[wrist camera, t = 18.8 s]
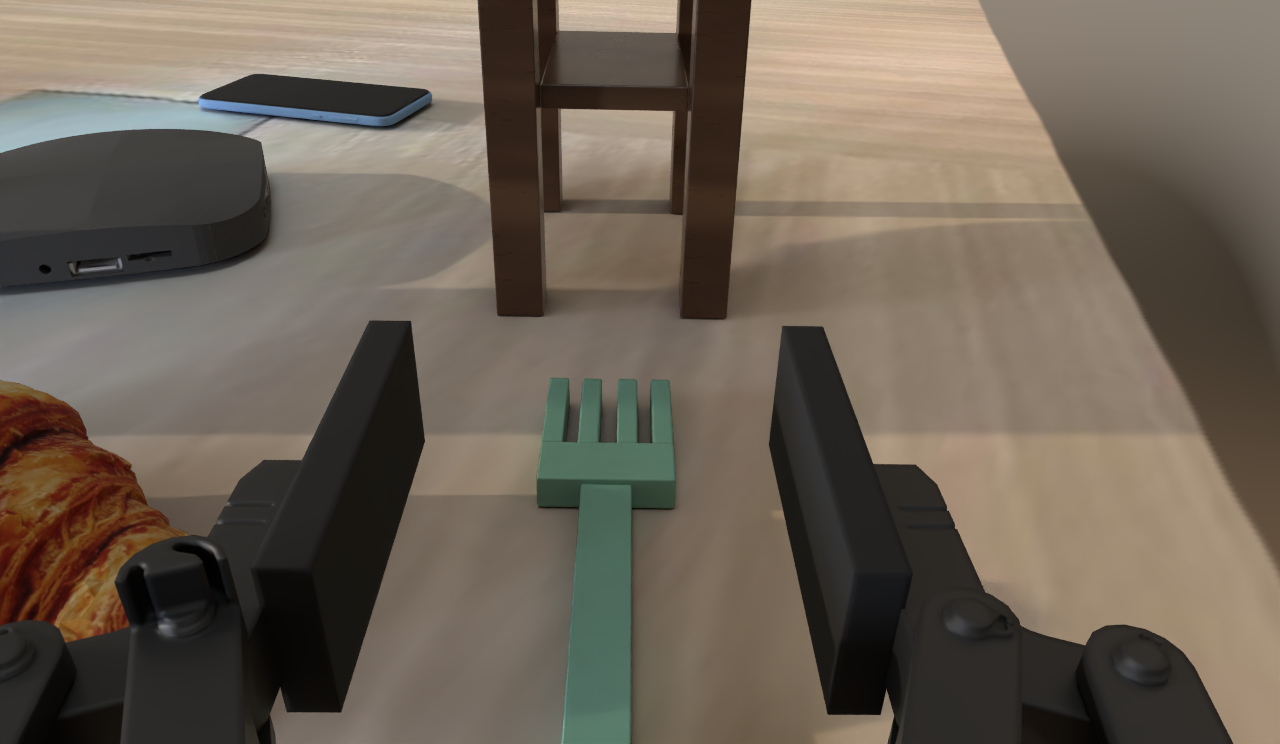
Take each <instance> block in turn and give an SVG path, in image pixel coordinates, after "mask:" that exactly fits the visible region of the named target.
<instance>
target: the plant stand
mask: <svg viewBox="0 0 1280 744" xmlns="http://www.w3.org/2000/svg"><path fill="white" fill-rule="evenodd" d="M750 11H751V0H678V3H677V28H676V33H639V32H593V31H559V6H558V0H478V13H479V29H480V45H481V61H482V77H483V93H484V109H485V125H486V141H487V157H488V173H489V189H490V204H491V220H492V236H493V252H494V268H495V284H496V300H497V314H498V315H519V316H543V314H544V308H545V302H546V296H547V292H546V261H545V230H544V211H554V212H560V210H561V204H562V198H563V197H562V149H561V109H602V110H652V111H673V126H672V150H671V174H670V199H669V200H670V211H671V214H683V223H682V243H681V264H680V284H679V303H680V314H681V317H682V318H726V314H727V302H728V289H729V276H730V264H731V251H732V239H733V226H734V213H735V201H736V188H737V175H738V163H739V150H740V138H741V125H742V112H743V100H744V87H745V74H746V62H747V49H748V36H749V24H750Z"/></svg>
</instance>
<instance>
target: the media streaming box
mask: <svg viewBox="0 0 1280 744" xmlns="http://www.w3.org/2000/svg"><path fill="white" fill-rule="evenodd" d="M269 220H270V189H269V182H268V177H267V171H266V166H265V161H264V155H263V150H262V145H261V142H259V141H257V140H255V139H251V138H248V137H243V136H239V135H233V134H227V133H220V132H213V131H202V130H184V129H143V130H124V131H112V132H101V133H93V134H85V135H78V136H72V137H66V138H60V139H55V140H50V141H45V142H40V143H36V144H32V145H29V146H25V147H21V148H17V149H14V150H10V151H6V152H3V153H0V286H12V285H24V284H35V283H46V282H57V281H67V280H77V279H87V278H96V277H106V276H115V275H124V274H133V273H142V272H150V271H158V270H167V269H175V268H183V267H190V266H198V265H204V264H209V263H213V262H217V261H221V260H225V259H228V258H231V257H233V256H236V255H239V254H241V253H243V252H246V251H247V250H249V249H251V248H253V247H255V246H256V245H258V244H259V243H260V242H261V241H263V239H264V238H265V237H266V236H267V234H268V228H269Z"/></svg>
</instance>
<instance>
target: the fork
mask: <svg viewBox="0 0 1280 744" xmlns="http://www.w3.org/2000/svg"><path fill="white" fill-rule="evenodd" d="M569 406H570V397H569V378H551V379H550V384H549V391H548V398H547V405H546V413H545V420H544V427H543V434H542V443H541V449H540V456H539V463H538V470H537V478H536V480H537V504H538V506H540V507H579V517H578V530H577V544H576V557H575V571H574V584H573V598H572V611H571V625H570V638H569V652H568V665H567V679H566V692H565V706H564V719H563V733H562V744H631V535H632V508H674V506H675V489H676V472H675V457H674V441H673V425H672V409H671V394H670V382H669V380H652V381H651V390H650V423H651V443H638V419H637V380H636V379H619V380H618V409H617V443H604V442H600V430H601V410H602V380H601V379H583V384H582V396H581V408H580V420H579V432H578V442H566V435H567V425H568V415H569Z"/></svg>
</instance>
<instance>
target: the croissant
mask: <svg viewBox="0 0 1280 744" xmlns="http://www.w3.org/2000/svg"><path fill="white" fill-rule="evenodd" d="M131 466H132V464H130V463H129V462H128V461H126V460H125V459H123V458H121V457H119V456H118V455H116V454H114V453H111V452H109V451H107V450H104V449H102V448H100V447H97V446H95V445H93V443H92V442H91V441H89V440H88V437H87V436H86V428H85V426H84V424H83V421H82V419H81V417H80V415H79V413H78V412H77V411H76V410H74V409H73V408H72V407H71V406H69V405H68V404H67V403H66V402H64V401H61V400H58V399H56V398H55V397H53V396H51V395H49V394H47V393H44V392H41V391H37V390H34V389H32V388H30V387H28V386H25V385H22V384H19V383H13V382H6V381H1V380H0V626H1V625H4V624H8V623H13V622H18V621H24V620H36V621H46V622H48V623H50V624H52V625H54V626H56V627H58V628H59V629H60V631H61V634H62V636H63V638H64V640H65V642H70V641H75V640H79V639H84V638H88V637H92V636H97V635H101V634H106V633H110V632H114V631H117V630H120V629H123V628H127V627H130V625H129V622H128V619H127V617H126V614H125V611H124V608H123V605H122V603H121V600H120V597H119V594H118V592H117V589H116V586H115V583H114V581H115V579H116V577H117V574H118V572H119V569H120V568H121V567H122V566H123V565H124V564H125V563H126V562H127V561H128V560H129V559H130V558H131V557H132V556H133V555H134V554H135V553H137V552H139V551H141V550H142V549H144V548H146V547H148V546H149V545H151V544H153V543H156V542H159V541H162V540H166V539H169V538H172V537H179V536H188V533H187V532H185V531H182V530H180V529H177V528H173V527H171V526H169V520H168V518H167V517H166V516H164V515H163V514H162V513H161V512H160V511H158V510H154V509H152V508H150V507H148V505H147V502H146V499H145V497H144V494H143V491H142V489H141V487H140V486H139V485H138V483H137V479H136V476H135V473H134V472H133V471H131V470H130V469H131Z"/></svg>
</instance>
